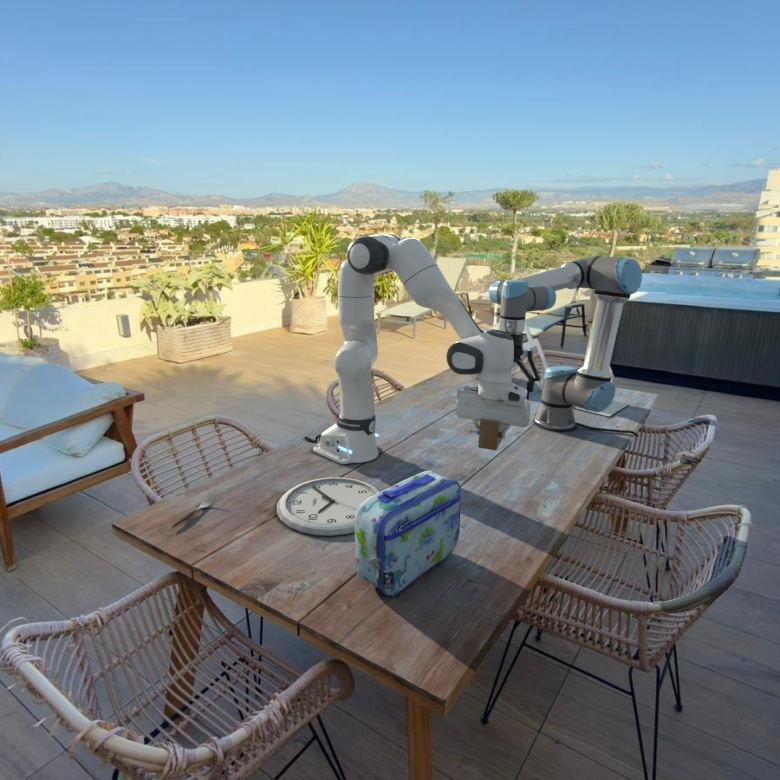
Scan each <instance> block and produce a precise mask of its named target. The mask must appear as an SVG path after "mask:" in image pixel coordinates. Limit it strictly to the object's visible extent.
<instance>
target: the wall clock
mask: <svg viewBox="0 0 780 780" xmlns="http://www.w3.org/2000/svg"><path fill="white" fill-rule="evenodd" d="M381 491H382V490H380V489H379V488H377V487H376V486H374V485H372V484H371V483H369V482H365V481H362V480H359V479H355V478H349V477H338V476H337V477H335V476H333V477H332V476H331V477H322V478H317V479H312V480H307V481H305V482H302V483H299V484H297V485H295V486H293V487H292V488H290V489H288V490H287V491H286V492H285V493H284V494H283V495H281V496H280V498H279V499H278V502H277V503H276V515H277V517H278V518H279V520H280V521H281V522H282V523H283V524H285V525H286V526H287V527H288V528H290V529H293V530H295V531H297V532H299V533H303V534H308V535H312V536H327V537H328V536H329V537H331V536H332V537H333V536H342V535H350V534H352V533H355V516H356V513H357V510H358V508H359V506H360V505H361V504H362V502H363V501H364V500H366V499H367V498H369V497H371V496H373V495H375V494H377V493H379V492H381Z"/></svg>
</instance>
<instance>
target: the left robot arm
mask: <svg viewBox="0 0 780 780" xmlns="http://www.w3.org/2000/svg"><path fill="white" fill-rule="evenodd" d="M392 272H394V273H395V274H396V275H397V277H398V279H399V280H400V282H401V284H402V286H403V288H404V289H405V291H406V292H407V294H408V296H409V297H410V299H411V300H412V301H413V302H414V303H415V304H416V305H418V306H420V307H422V308H425V309H429V310H433V311H435V312H437V313H439V314H441V315H442V316H443V317H444V318H445V319H446V320H447V322H448V323H449V324H450V326H451V327H452V329H453V330H454V332H455V334H456V335H457V336H458V338H459V340H458V341H456V342H454V343H453V344H450V346H449V347H448V349H447V351H446V356H445V357H446V363H447V365H448V367H449V369H450V370H451V371H452V372H453V373H455V374H457V375H464V376H465V375H467V376H468V375H469V376H471V375H472V374H478V375H479V377H478V386H472V385H471V386H470V385H462V386H460V387H458V389H457V390H456V398H457V399H458V400H457V404H456V410H455V414H456V416H457V418H459V419H460V418H461V419H467V420H472V424H473V427H474V428H475V435H478V436H479V430H480V420H481V419H486V420H493V421H500V424H504V428H505V429H504V430H503V431H501V430H500V432H499V438H503V439H502V440H504V439H505V438H506V433H507V431H508V430H509V429H510V427H511V426H514V427H519V428H520V427H521V428H526V427H527V426H528V425H529V423H530V418H531V412H530V411H531V409H530V407H531V406H530V402H529V401H528V400H527V399H526V397H527V390H526V387H522V386H520V385H517V384H515V383H513V382H512V380H513V378H512V369H513V368H514V367H513V360H514V343H513V339H512V337H511V336H510V335H509V334H508V333H506V332H504V331H500V330H499V329H493V328H490V329H486V330H485V331H483V330H482V328H481V327H480V326H479V325H478V323H476V321H475V319H474V318H473V317H472V315H471V313H470V312H469V311H468V309H467V308H466V306H465V304H464V303H463V302H462V300H461V299H460V297H459V296H458V294H457V293H456V292H455V291H454V289H453V288H452V286H451V285H450V284H449V282H448V281H447V279H446V277H445V275H444V273H443V272H442V271H441V269H440V267H439V265H438V264H437V262H436V260H435V258H434V257H433V255H432V254H431V253H430V252H429V250H428V249H427V248H426V246H425V245H424V244H423V243H422V242H421V240H419V239H418V238H415V237H409V238H408V237H407V238H404V239H402V238H401V237H400V236H397V235H395V234H384V233H375V234H371V235H362V236H359V237H357V238H355V239H354V240H352V241H351V242H350V243H349V246H348V247H347V251H346V259H345V260H344V261H342V263H341V264H340V267H339V272H338V280H337V281H338V282H337V283H338V284H337V308H338V312H337V313H338V322H339V324H340V328H341V333H342V338H343V345H342V346H341V347H340V348H339V349H338V351H337V353H336V354H335V357H334V361H333V366H334V370H335V372H336V377H337V382H338V387H339V400H340V401H339V404H340V410H339V411H340V412H338V413H337V414H336V415H333V420H336V422H335V423H333V424H332V425H331V426H329V427H328V428H326V429H325V430H324V431H323V432H320V433H319V434H316V436H315V437H314V439H313V438H310V437H309V436H304V439H305V440H307V441H308V442H311V443H316V444H315V445H314V446H313V448H312V452H313V453H315V454H317V455H320V456H321V457H324V458H326V459H329V460H331V461H333V462H336V463H337V464H339V465H347V464H348V465H349V464H354V463H355V464H357V463H359V464H361V463H367V462H370V461H373V460H375V459H376V458H378V456H379V455H380V452H379V448H378V445H377V440H376V437H377V438H378V437H379V433H376V425H377V423H376V421H377V420H376V413H375V389H374V385H373V378H372V369H373V366H374V364H375V363H376V362H377V359H378V356H379V347H378V336H377V329H376V322H375V280H376V278H377V276H378V275H386V274H388V273H392ZM317 442H318V443H317Z"/></svg>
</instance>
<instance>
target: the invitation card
mask: <svg viewBox="0 0 780 780" xmlns="http://www.w3.org/2000/svg"><path fill="white" fill-rule="evenodd" d="M628 406H629V404H627V403H623V402H618V401H614V400H612V402H611V404H610V405H609V406H608V407H607V408H606V409H605V410H603V411H601V412H593V411H588V410H585V409H583V408H580V407H578V406H574V407H573V409H575V410H581V411H584V412H587V413H593V414H596V415H600V416H604V417H608V418H609V417H611V416H613V415H614V414H616V413H617V412H619V411H621V410H623V409H624V408H626V407H628Z"/></svg>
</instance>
